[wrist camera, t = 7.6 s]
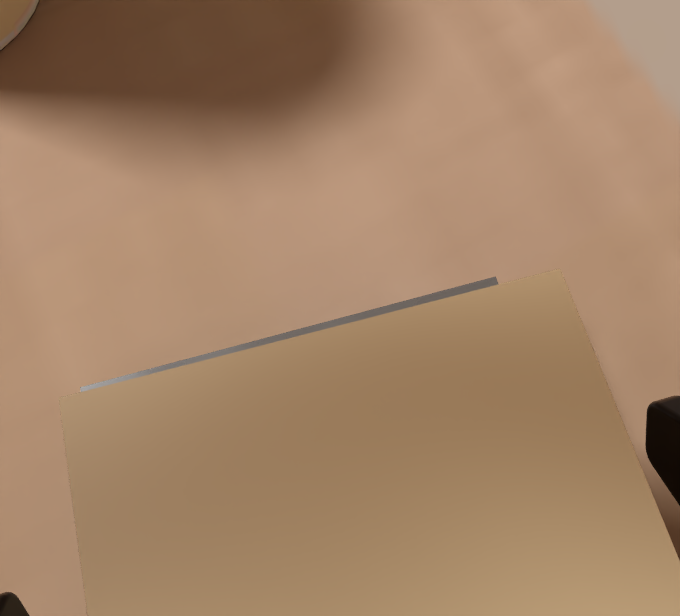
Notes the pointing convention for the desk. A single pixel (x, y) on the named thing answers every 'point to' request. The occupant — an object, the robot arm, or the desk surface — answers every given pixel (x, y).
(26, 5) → the coffee cup
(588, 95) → the desk surface
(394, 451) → the rectangular block
